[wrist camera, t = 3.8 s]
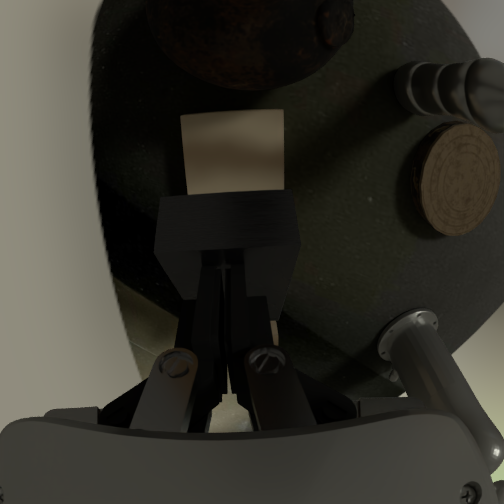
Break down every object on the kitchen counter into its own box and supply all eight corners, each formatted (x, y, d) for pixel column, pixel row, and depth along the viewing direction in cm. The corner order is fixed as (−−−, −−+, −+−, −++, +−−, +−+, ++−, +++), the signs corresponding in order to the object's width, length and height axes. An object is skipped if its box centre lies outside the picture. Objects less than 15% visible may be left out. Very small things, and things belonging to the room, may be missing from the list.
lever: (266, 320, 32) (268, 350, 30) (220, 322, 32) (221, 353, 30) (288, 170, 12) (301, 244, 10) (163, 177, 11) (153, 252, 10)
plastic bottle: (380, 100, 29) (512, 126, 11) (394, 52, 25) (525, 42, 8) (421, 121, 30) (549, 167, 12) (435, 76, 26) (563, 93, 9)
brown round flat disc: (396, 139, 31) (408, 143, 29) (478, 109, 28) (492, 112, 26) (419, 243, 38) (429, 253, 36) (491, 204, 36) (502, 212, 33)
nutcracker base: (279, 293, 41) (292, 359, 30) (206, 297, 41) (199, 364, 30) (279, 108, 29) (302, 114, 19) (185, 114, 29) (156, 123, 18)
